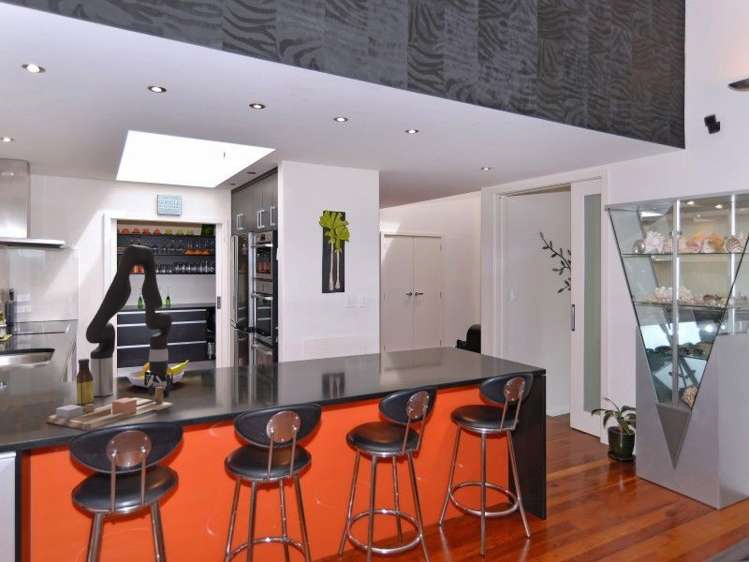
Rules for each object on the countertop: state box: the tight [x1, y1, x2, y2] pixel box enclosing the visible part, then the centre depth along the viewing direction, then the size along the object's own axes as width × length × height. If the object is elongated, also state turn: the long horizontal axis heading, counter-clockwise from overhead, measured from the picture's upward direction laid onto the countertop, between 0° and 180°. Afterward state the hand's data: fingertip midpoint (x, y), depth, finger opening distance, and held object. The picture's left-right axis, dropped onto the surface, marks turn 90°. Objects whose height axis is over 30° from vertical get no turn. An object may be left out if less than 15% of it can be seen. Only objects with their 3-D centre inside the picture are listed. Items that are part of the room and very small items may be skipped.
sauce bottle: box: [75, 358, 95, 406], centre depth 221 cm, size 6×6×20 cm
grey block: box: [55, 403, 95, 419], centre depth 200 cm, size 6×13×5 cm, turn 156°
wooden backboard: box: [46, 397, 174, 431], centre depth 209 cm, size 22×40×3 cm, turn 156°
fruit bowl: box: [126, 359, 190, 389], centre depth 261 cm, size 28×27×11 cm
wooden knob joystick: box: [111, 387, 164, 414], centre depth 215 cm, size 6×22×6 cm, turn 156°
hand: (158, 396), depth 224 cm, fingers open, 8 cm apart
